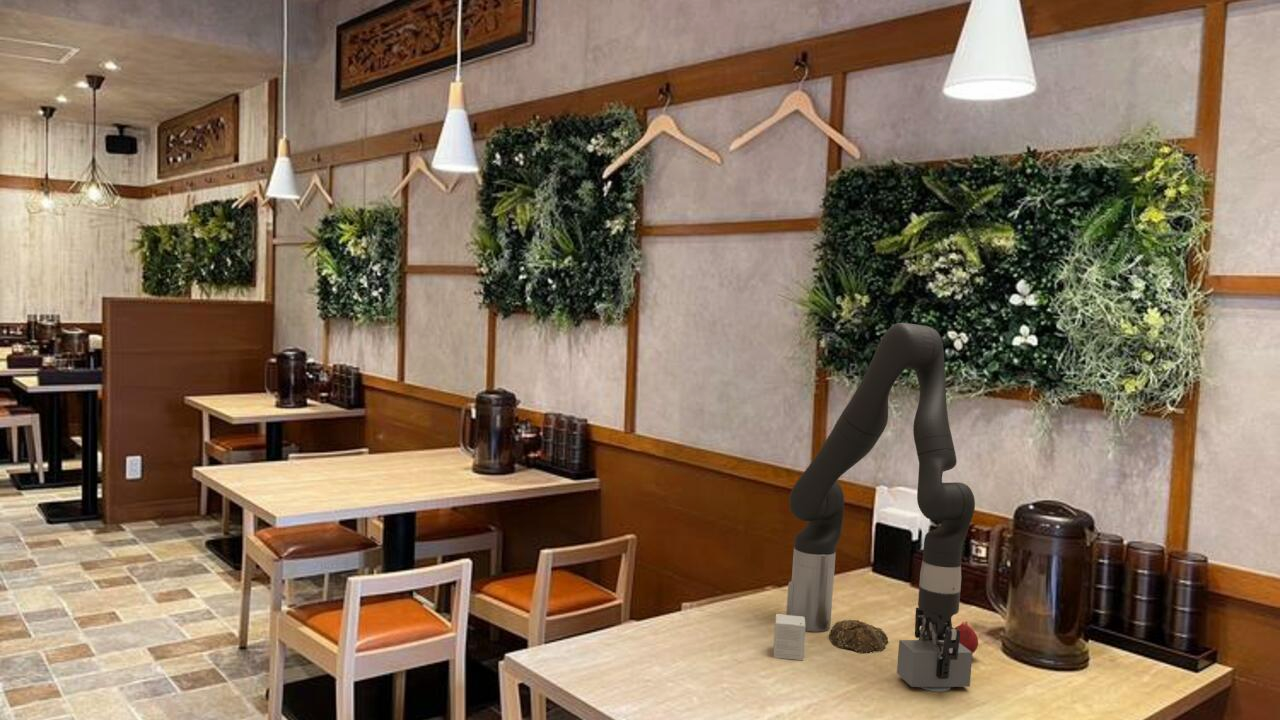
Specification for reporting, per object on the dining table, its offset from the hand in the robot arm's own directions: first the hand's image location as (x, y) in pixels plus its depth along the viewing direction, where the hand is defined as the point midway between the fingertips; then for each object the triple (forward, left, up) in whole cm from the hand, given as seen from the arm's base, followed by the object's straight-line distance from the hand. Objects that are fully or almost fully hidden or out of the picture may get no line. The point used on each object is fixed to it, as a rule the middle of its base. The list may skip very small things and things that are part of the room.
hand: (933, 670), depth 185 cm
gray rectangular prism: (0, 0, -2) cm, 2 cm away
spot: (0, 0, -3) cm, 3 cm away
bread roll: (-18, +14, -3) cm, 24 cm away
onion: (+2, +18, -3) cm, 19 cm away
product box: (-29, -2, -3) cm, 29 cm away
